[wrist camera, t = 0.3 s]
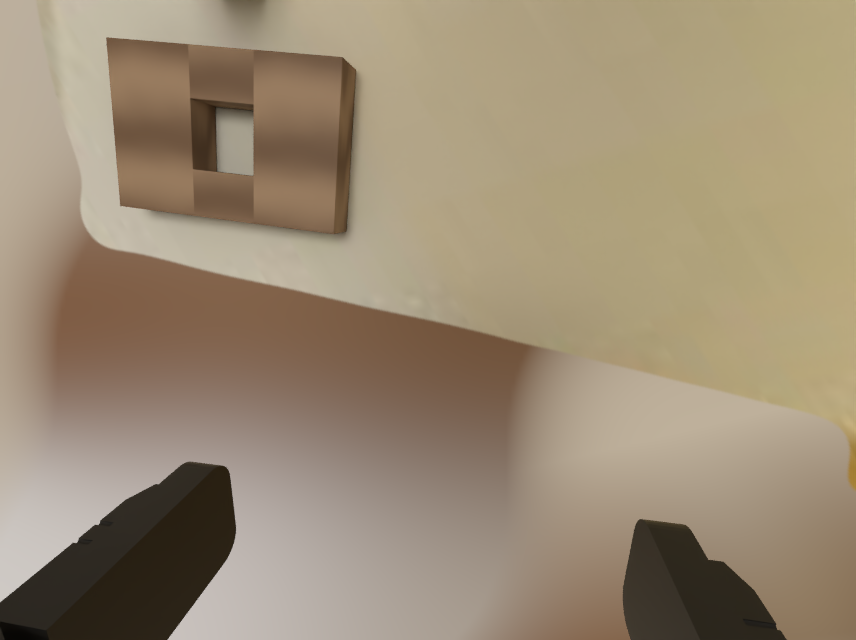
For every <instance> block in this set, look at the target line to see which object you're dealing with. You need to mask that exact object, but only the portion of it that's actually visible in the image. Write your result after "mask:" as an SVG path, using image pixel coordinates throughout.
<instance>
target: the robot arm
mask: <svg viewBox="0 0 856 640" xmlns="http://www.w3.org/2000/svg"><path fill="white" fill-rule="evenodd" d="M235 534H236V524H235V515H234V506H233V497H232V488H231V480H230V473H229V471H228V469H227V468H226V467H225V466H220V465H213V464H205V463H197V462H186V463H184V464H182V465H181V466H180V467H178V468H177V469H176V470H175V471H174V472H173V473H171V474H170V475H169V476H168V477H167V478H166V479H164V480H163V481H162V482H161V483H160V484H159V485H158V484H155V485H153V486H151V487H149V488H148V489H146V490H144V491H142V492H140V493H138V494H136V495H134V496H133V497H130V498H129V499H126V500H125V501H124V502H122V503H121V504H120V505H119V506H118V507H116V508H115V509H114V510H113V511H112V512H110V513H109V514H108V515H107V516H105V517H104V518H103V519H102V520H101V521H100V524H99V525H94V526H93V527H92V528H91V529H90V530H88V531H87V532H86V533H85V534H83V535H82V536H81V537H80V538H79V540H78V542H77V543H72V544H71V545H70V546H69V547H68V548H66V549H65V550H64V551H63V552H61V553H60V554H59V555H58V556H56V557H55V558H54V559H53V560H52V561H50V562H49V563H48V564H47V565H46V566H44V567H43V568H42V569H41V570H40V571H38V572H37V573H36V574H34V575H33V576H32V577H31V578H30V579H29V580H27V581H26V582H25V583H24V584H22V585H21V586H20V587H19V588H17V589H16V590H15V591H14V592H12V593H11V594H10V595H9V596H8V597H6V598H5V599H4V600H3V601H1V602H0V640H167V639H168V638H169V637H170V635H171V634H172V633H173V631H174V630H175V629H176V627H177V626H178V624H179V623H180V622H181V621H182V619H183V618H184V617H185V615H186V614H187V612H188V611H189V610H190V608H191V607H192V606H193V604H194V603H195V602H196V600H197V599H198V598H199V596H200V595H201V594H202V592H203V591H204V590H205V588H206V587H207V586H208V584H209V583H210V581H211V580H212V579H213V577H214V576H215V575H216V573H217V572H218V571H219V569H220V568H221V567H222V565H223V564H224V562H225V561H226V559H227V558H228V556H229V554H230V552H231V549H232V547H233V544H234V540H235ZM623 607H624V615H625V621H626V625H627V629H628V632H629V635H630V639H631V640H786V638H785V637H784V635H783V634H782V632H781V631H780V630H777V628H776V623H775V621H774V620H773V618H772V617H771V615H770V614H769V612H768V611H767V609H766V608H765V606H764V604H763V603H762V601H761V600H760V598H759V597H758V595H757V594H756V592H755V591H754V590H753V589H752V588H751V587H750V586H749V585H748V584H747V583H746V582H745V581H744V580H742V579H741V578H740V577H739V576H738V575H737V574H736V573H735V572H734V571H733V570H732V569H730V568H729V567H728V566H727V565H726V564H725V563H724V562H721V561H713V560H708V558H707V557H706V555H705V554H704V552H703V550H702V548H701V546H700V545H699V543H698V542H697V540H696V538H695V536H694V534H693V533H692V531H691V530H690V529H689V527H687V526H686V525H683V524H675V523H667V522H659V521H651V520H643V519H640V520H638V522H637V523H636V526H635V530H634V534H633V539H632V544H631V549H630V555H629V560H628V565H627V570H626V575H625V580H624V586H623Z"/></svg>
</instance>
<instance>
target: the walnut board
mask: <svg viewBox="0 0 856 640" xmlns="http://www.w3.org/2000/svg"><path fill="white" fill-rule="evenodd" d="M106 39H107V51H108V63H109V75H110V87H111V99H112V111H113V123H114V135H115V146H116V158H117V170H118V182H119V194H120V206H125V207H133V208H141V209H148V210H156V211H163V212H171V213H179V214H186V215H194V216H201V217H209V218H217V219H224V220H232V221H239V222H247V223H254V224H262V225H270V226H277V227H285V228H292V229H300V230H308V231H315V232H323V233H330V234H336V233H340V232H345V231H346V229H347V212H348V195H349V179H350V162H351V145H352V128H353V111H354V94H355V77H356V70H355V69H354V68H353V67H352V66H351V65H350V64H349V63H348V62H347V61H346V60H345V59H344V58H343V57H332V56H321V55H309V54H297V53H285V52H273V51H261V50H249V49H237V48H225V47H214V46H202V45H190V44H178V43H166V42H154V41H142V40H130V39H118V38H106ZM215 107H225V108H235V109H245V110H254V176H248V175H240V174H232V173H223V172H217V164H216V121H215Z"/></svg>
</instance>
